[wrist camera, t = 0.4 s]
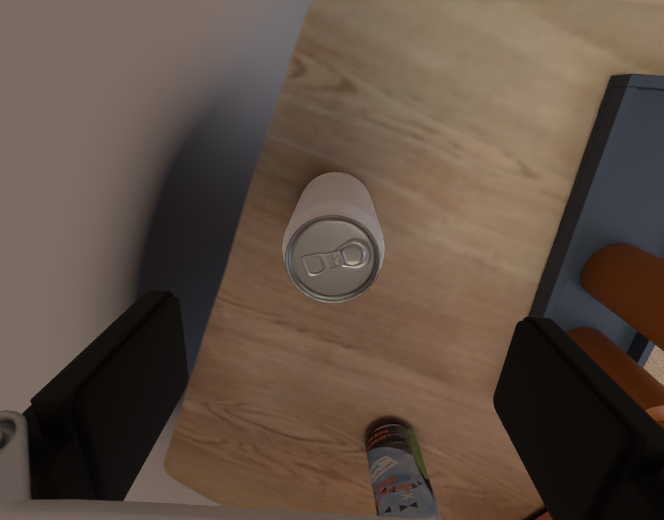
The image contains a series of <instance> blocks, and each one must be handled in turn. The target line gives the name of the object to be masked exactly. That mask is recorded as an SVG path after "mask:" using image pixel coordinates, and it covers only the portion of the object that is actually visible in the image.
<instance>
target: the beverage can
mask: <svg viewBox="0 0 664 520" xmlns="http://www.w3.org/2000/svg"><path fill="white" fill-rule="evenodd" d="M365 446H366V451H367V457H368V463H369V469H370V475H371V481H372V486H373V492H374V498H375V504H376V510H377V516H385V517H400V518H415V519H430V520H441V517H440V514H439V510H438V507H437V504H436V501H435V497H434V494H433V491H432V488H431V484H430V481H429V478H428V475H427V471H426V468H425V465H424V462H423V458H422V455H421V452H420V449H419V445H418V442H417V439H416V436H415V433H414V432H413V431H412V430H411V429H409V428H407V427H404V426H401V425H397V424H389V425H384V426H381V427H379V428H378V429H376V430H375V431H374V432H373V433H372V434H371V435H370V436H369V437H368V438H367V440H366V444H365Z"/></svg>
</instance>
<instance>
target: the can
mask: <svg viewBox="0 0 664 520" xmlns="http://www.w3.org/2000/svg"><path fill="white" fill-rule="evenodd" d="M282 251H283V258H284V262H285V265H286V270H287V273H288V275H289V277H290V279H291V281H292V283H293V284H294V285H295V286H296V287H297V289H298V290H300V291H301V292H302V293H303V294H305V295H306V296H308V297H310V298H312V299H314V300H317V301H320V302H325V303H342V302H347V301H350V300H353V299H355V298H357V297H359V296H360V295H362V294H363V293H365V292H366V291H367V290H368V289H369V288H370V287H371V286H372V284H373V283H374V281H375V280H376V278H377V276H378V273H379V270H380V268H381V266H382V263H383V259H384V251H385V246H384V239H383V234H382V231H381V227H380V224H379V221H378V218H377V215H376V212H375V209H374V206H373V203H372V200H371V197H370V195H369V193H368V191H367V189H366V187H365V186H364V185H363V184H362V183H361V182H360V181H359V180H358V179H357V178H355V177H353V176H351V175H349V174H346V173H342V172H330V173H325V174H322V175H320V176H318V177H316V178H315V179H313V180H312V181H311V182H310V183H309V184H308V185H307V186H306V188H305V189H304V191H303V193H302V195H301V197H300V199H299V201H298V203H297V205H296V208H295V210H294V212H293V214H292V217H291V219H290V221H289V224H288V226H287V229H286V231H285V234H284V238H283V246H282Z"/></svg>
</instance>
